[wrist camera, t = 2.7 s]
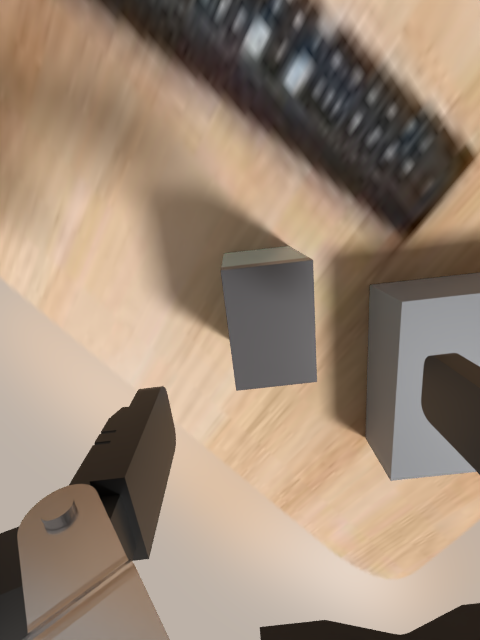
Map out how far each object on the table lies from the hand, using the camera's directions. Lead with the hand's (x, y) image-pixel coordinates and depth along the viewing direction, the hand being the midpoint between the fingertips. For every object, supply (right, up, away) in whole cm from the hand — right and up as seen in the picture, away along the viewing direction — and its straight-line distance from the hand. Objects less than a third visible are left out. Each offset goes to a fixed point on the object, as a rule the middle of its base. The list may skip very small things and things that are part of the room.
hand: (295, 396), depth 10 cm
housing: (0, +4, +10) cm, 11 cm away
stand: (+13, 0, +12) cm, 18 cm away
